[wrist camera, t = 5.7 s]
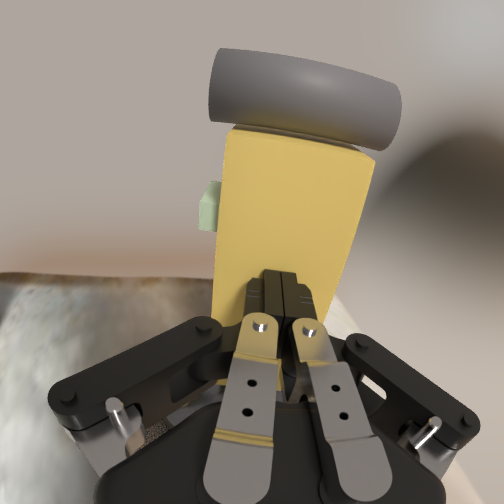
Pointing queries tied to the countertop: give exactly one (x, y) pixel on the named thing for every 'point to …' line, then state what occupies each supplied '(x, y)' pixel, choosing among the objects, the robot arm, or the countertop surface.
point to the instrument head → (290, 171)
